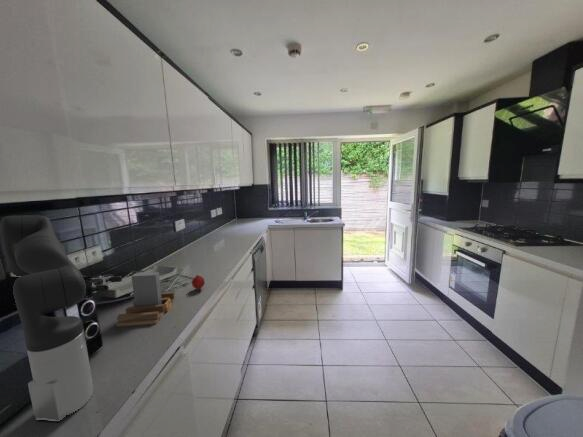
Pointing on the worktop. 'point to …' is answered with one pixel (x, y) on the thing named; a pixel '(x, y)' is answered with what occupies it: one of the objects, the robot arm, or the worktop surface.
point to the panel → (146, 289)
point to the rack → (146, 312)
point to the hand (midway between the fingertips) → (115, 283)
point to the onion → (198, 282)
